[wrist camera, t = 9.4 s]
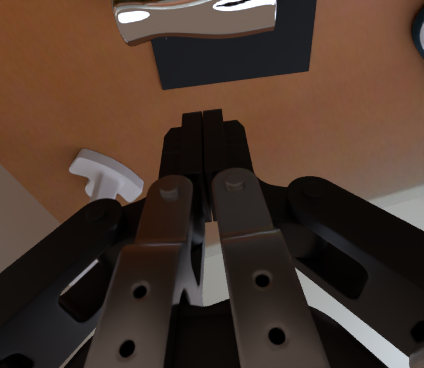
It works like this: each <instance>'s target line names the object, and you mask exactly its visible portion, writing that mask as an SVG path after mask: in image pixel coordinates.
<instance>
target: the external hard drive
mask: <svg viewBox="0 0 424 368" xmlns="http://www.w3.org/2000/svg"><path fill="white" fill-rule="evenodd" d="M412 38H413V41H414V44H415V46H416V48H417V50H418V51H419V53H420V54H421V56H422V57H423V59H424V7H423V8H422V10H421V11H420V12H419V13H418V15H417V17H416V19H415V21H414V24H413V27H412Z"/></svg>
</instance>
